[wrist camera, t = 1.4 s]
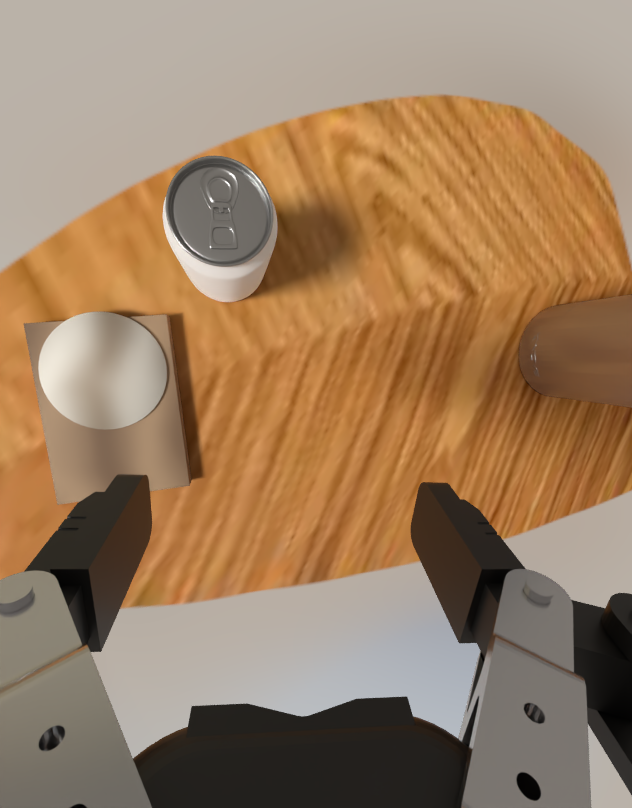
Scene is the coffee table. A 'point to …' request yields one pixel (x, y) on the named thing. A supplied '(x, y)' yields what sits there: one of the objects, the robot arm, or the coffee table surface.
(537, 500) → the coffee table surface
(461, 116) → the coffee table surface
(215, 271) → the can
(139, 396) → the board
